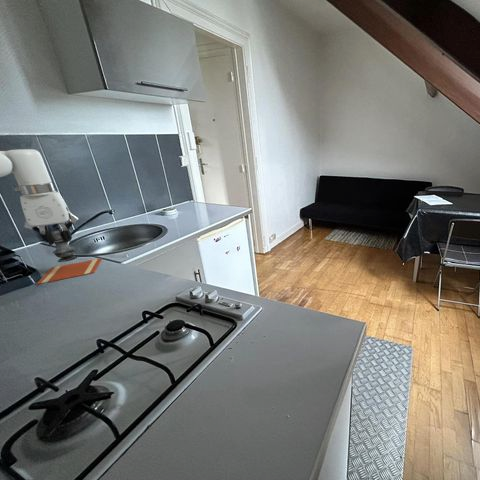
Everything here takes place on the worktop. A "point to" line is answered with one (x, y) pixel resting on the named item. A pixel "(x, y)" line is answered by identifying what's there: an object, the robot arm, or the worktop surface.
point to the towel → (70, 271)
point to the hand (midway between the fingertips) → (60, 241)
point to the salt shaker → (62, 247)
